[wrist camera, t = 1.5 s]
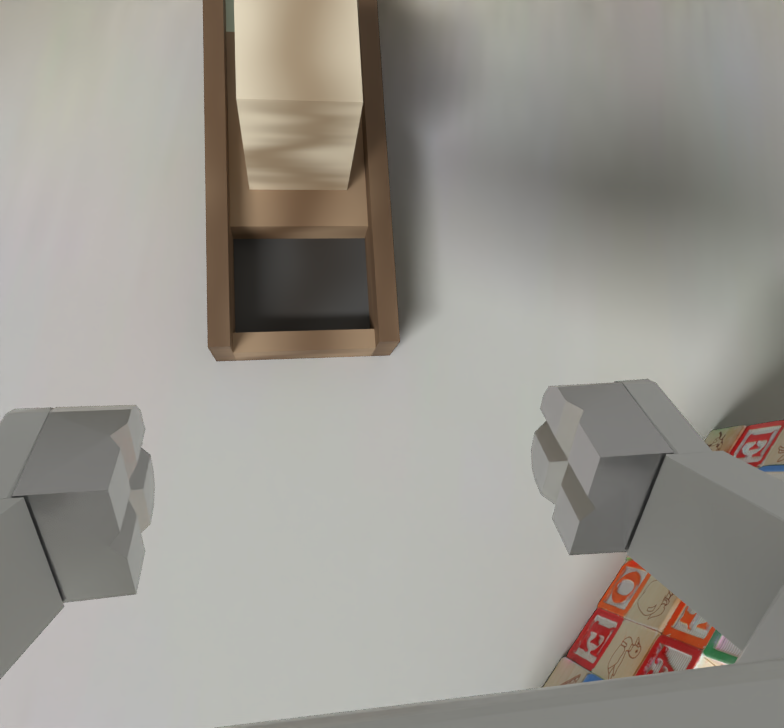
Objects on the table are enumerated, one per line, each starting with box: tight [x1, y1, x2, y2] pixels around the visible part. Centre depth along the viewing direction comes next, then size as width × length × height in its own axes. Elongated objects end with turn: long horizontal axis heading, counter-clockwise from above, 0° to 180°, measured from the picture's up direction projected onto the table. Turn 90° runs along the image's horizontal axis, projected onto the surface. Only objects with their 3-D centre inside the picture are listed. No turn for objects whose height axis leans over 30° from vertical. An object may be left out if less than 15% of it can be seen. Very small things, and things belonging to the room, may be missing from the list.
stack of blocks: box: [543, 420, 784, 687], centre depth 28 cm, size 21×6×12 cm, turn 141°
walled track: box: [203, 0, 400, 361], centre depth 35 cm, size 9×26×4 cm, turn 4°
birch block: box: [234, 0, 363, 190], centre depth 30 cm, size 5×5×8 cm
